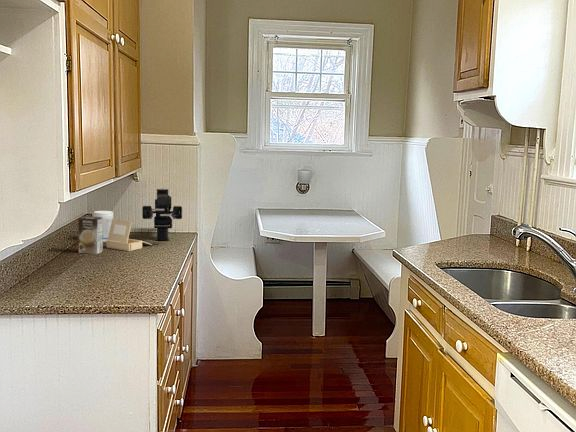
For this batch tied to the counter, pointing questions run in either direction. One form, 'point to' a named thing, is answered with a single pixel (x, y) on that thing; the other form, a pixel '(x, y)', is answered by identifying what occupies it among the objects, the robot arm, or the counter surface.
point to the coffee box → (90, 235)
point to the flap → (119, 230)
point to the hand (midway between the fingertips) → (162, 215)
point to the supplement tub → (105, 222)
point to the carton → (126, 245)
